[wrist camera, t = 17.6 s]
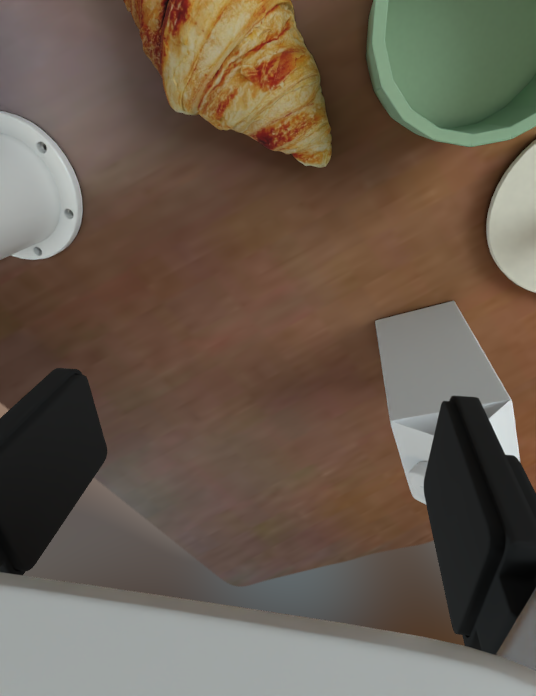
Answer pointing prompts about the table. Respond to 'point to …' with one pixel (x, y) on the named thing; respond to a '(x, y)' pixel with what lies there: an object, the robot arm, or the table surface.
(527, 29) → the bowl
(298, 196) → the table surface
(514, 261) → the lid
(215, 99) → the croissant
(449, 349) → the milk carton
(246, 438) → the table surface
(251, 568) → the table surface
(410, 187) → the table surface
